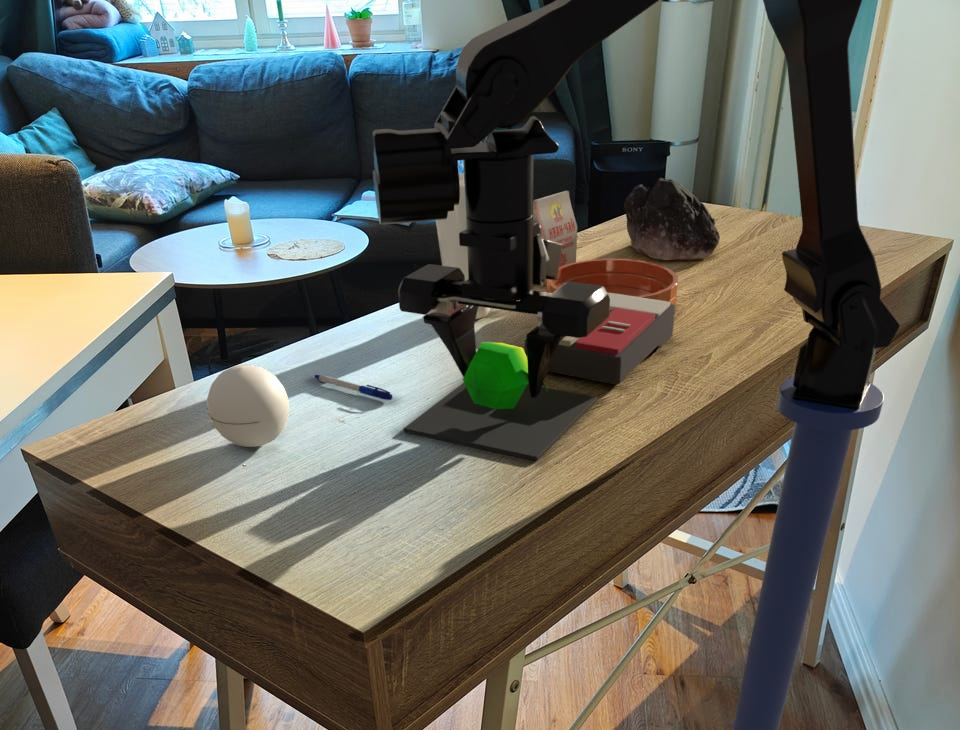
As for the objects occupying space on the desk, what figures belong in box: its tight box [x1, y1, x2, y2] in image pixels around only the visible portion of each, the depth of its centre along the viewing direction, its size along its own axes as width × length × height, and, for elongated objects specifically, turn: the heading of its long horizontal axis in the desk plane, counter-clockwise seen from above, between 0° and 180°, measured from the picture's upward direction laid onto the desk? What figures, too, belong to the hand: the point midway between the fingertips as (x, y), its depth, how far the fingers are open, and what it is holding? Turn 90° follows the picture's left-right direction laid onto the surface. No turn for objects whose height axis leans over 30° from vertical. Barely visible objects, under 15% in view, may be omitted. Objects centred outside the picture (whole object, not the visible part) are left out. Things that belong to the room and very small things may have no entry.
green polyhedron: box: [462, 341, 548, 409], centre depth 84 cm, size 7×6×9 cm
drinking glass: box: [435, 172, 491, 320], centre depth 105 cm, size 7×7×15 cm
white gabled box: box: [533, 190, 578, 287], centre depth 117 cm, size 4×7×10 cm, turn 136°
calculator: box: [524, 292, 676, 385], centre depth 96 cm, size 11×4×15 cm
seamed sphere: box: [193, 363, 290, 448], centre depth 81 cm, size 10×7×7 cm
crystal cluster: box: [623, 177, 721, 261], centre depth 125 cm, size 13×14×10 cm
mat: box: [403, 382, 598, 462], centre depth 87 cm, size 14×14×1 cm
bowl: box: [546, 258, 679, 306], centre depth 109 cm, size 16×16×4 cm
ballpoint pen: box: [313, 374, 393, 401], centre depth 92 cm, size 10×1×1 cm, turn 56°
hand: (503, 390), depth 85 cm, fingers closed on green polyhedron, 6 cm apart
